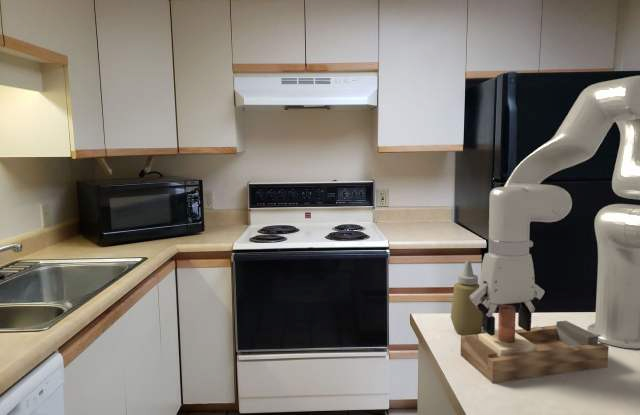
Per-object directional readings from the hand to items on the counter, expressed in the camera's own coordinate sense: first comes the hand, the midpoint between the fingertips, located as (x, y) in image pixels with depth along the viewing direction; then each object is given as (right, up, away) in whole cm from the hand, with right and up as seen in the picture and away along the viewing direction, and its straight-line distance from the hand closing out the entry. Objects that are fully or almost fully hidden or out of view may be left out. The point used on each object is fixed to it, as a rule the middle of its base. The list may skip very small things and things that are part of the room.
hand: (506, 330), depth 88 cm
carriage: (0, -5, +1) cm, 5 cm away
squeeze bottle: (-2, -6, +18) cm, 19 cm away
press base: (+6, -7, +2) cm, 10 cm away
